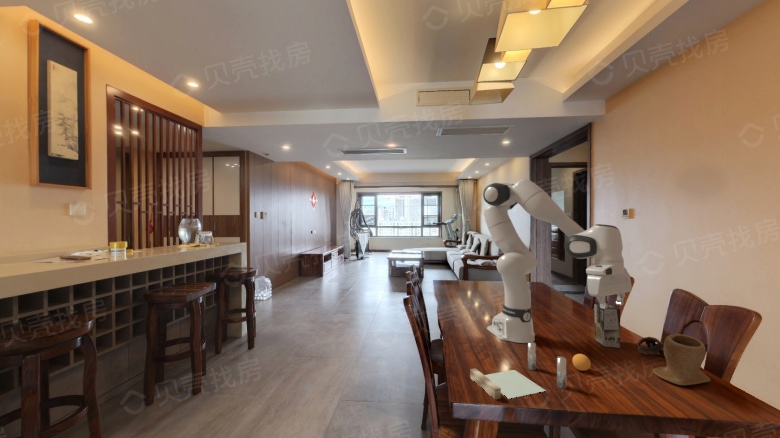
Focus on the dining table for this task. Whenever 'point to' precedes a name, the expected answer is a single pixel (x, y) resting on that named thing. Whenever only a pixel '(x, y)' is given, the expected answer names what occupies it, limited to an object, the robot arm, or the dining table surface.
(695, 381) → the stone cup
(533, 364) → the post
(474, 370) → the wall
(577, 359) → the ball
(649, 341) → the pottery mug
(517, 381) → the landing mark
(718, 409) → the dining table surface
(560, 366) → the post
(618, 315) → the coffee box
